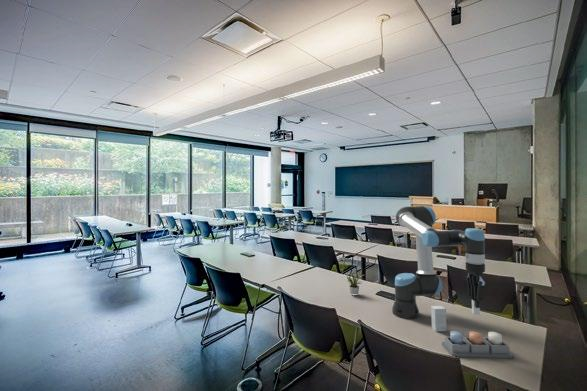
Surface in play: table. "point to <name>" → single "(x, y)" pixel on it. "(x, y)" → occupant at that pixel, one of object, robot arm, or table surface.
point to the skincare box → (438, 318)
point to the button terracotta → (475, 338)
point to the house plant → (354, 287)
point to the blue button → (456, 337)
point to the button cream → (495, 338)
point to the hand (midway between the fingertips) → (475, 313)
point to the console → (477, 349)
